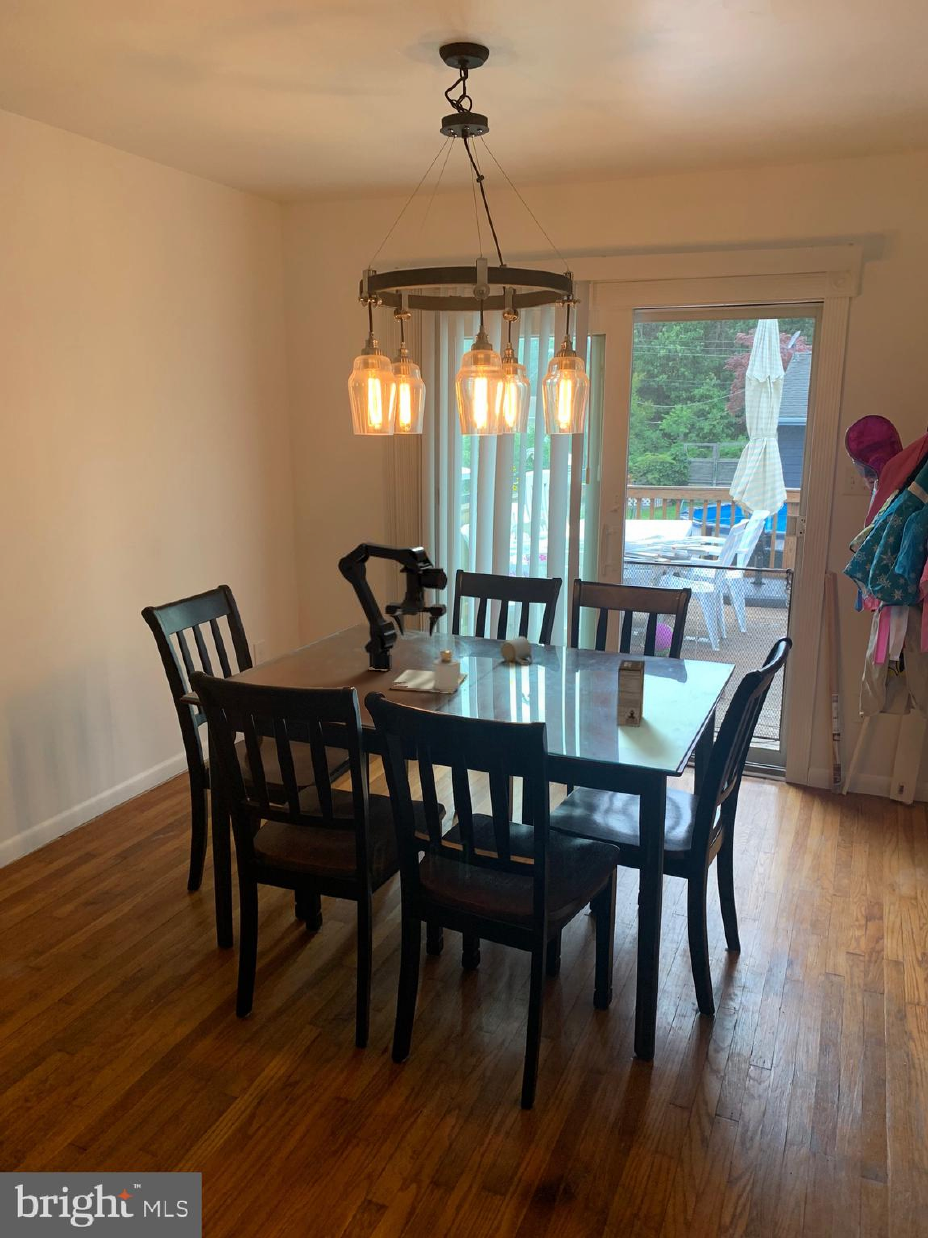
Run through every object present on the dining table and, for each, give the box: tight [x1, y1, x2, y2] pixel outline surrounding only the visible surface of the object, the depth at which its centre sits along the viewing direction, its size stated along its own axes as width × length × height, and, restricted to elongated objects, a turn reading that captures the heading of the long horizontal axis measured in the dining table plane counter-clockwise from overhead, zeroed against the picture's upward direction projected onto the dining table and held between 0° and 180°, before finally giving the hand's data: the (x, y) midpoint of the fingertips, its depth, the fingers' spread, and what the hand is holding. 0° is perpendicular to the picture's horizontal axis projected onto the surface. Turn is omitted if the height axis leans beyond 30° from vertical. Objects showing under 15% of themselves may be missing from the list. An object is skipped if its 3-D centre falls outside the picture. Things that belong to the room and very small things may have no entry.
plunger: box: [439, 649, 453, 662], centre depth 269 cm, size 5×5×9 cm
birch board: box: [393, 669, 468, 694], centre depth 277 cm, size 20×18×1 cm
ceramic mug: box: [500, 635, 533, 665], centre depth 300 cm, size 11×8×8 cm
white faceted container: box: [433, 658, 461, 690], centre depth 270 cm, size 9×8×8 cm
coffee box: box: [616, 659, 646, 728], centre depth 241 cm, size 9×6×16 cm
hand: (416, 635), depth 282 cm, fingers open, 9 cm apart
